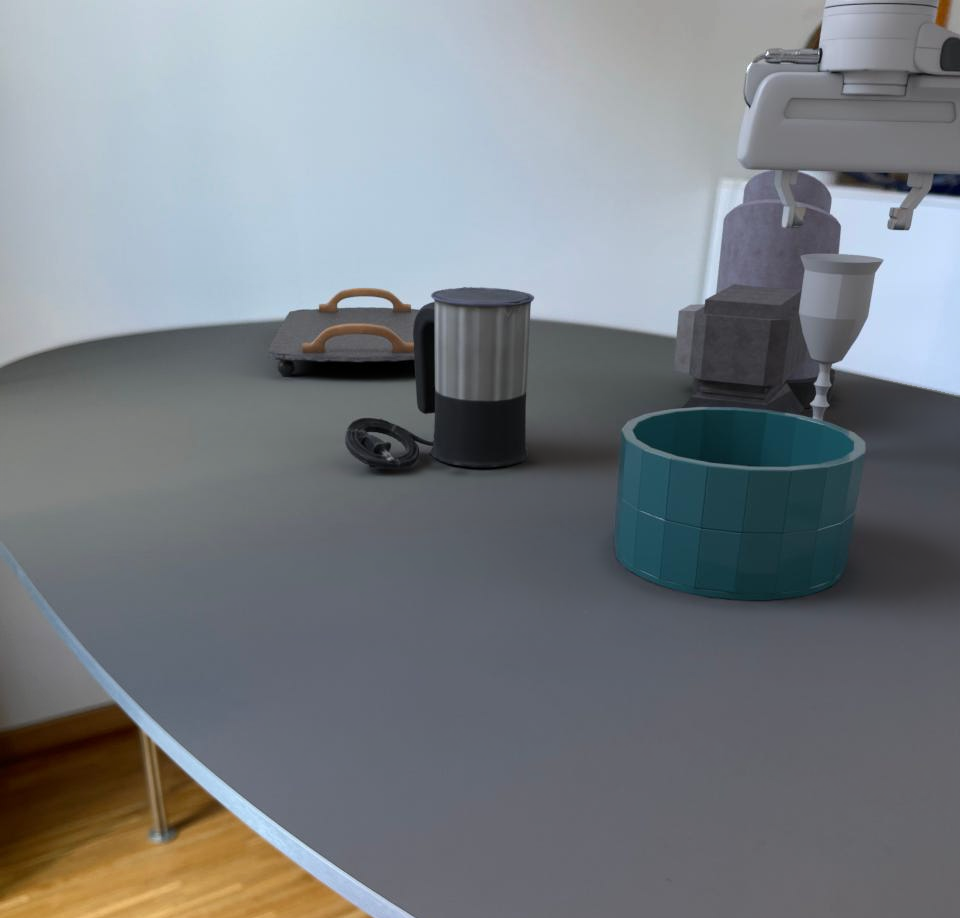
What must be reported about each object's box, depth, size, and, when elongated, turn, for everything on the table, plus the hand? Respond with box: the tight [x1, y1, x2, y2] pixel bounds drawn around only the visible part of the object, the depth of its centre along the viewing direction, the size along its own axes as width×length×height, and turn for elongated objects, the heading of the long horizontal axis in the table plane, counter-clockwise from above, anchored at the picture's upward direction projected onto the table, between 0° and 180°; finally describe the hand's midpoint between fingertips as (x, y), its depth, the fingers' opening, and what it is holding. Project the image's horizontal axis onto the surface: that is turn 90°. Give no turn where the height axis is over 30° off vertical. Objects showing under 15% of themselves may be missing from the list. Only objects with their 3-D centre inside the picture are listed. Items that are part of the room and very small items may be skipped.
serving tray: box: [266, 287, 420, 377], centre depth 145 cm, size 39×23×6 cm, turn 4°
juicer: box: [673, 170, 842, 415], centre depth 117 cm, size 30×16×24 cm, turn 155°
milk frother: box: [344, 286, 535, 470], centre depth 97 cm, size 14×16×15 cm
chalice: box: [799, 253, 885, 421], centre depth 99 cm, size 7×7×18 cm
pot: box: [613, 407, 867, 601], centre depth 77 cm, size 17×17×9 cm
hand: (845, 228), depth 94 cm, fingers open, 8 cm apart
